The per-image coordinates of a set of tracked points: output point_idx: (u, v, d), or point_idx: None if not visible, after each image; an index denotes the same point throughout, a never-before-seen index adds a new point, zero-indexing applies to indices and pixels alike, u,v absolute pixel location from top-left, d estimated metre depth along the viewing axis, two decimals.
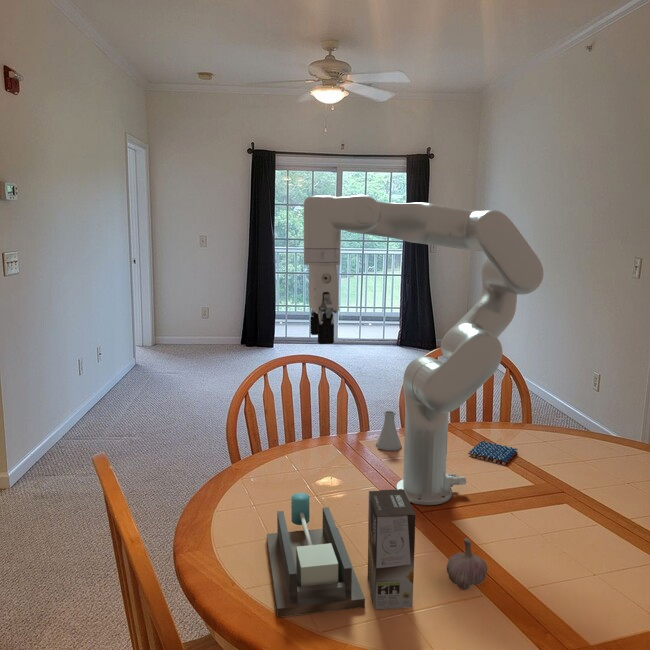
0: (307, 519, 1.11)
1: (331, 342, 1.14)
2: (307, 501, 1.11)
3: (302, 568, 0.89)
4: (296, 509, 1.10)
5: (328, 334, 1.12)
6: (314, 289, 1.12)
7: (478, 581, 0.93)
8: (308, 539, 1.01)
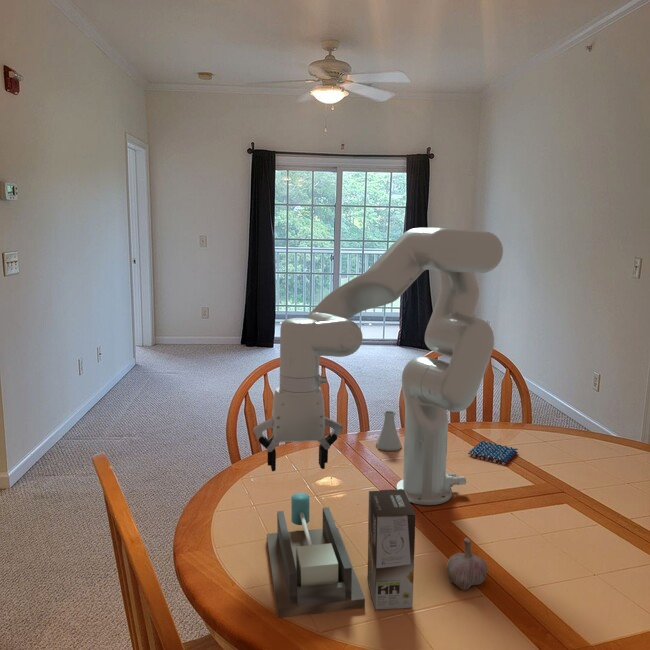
0: (307, 519, 1.11)
1: None
2: (307, 501, 1.11)
3: (302, 568, 0.89)
4: (296, 509, 1.10)
5: None
6: (320, 416, 1.07)
7: (478, 581, 0.93)
8: (308, 539, 1.01)
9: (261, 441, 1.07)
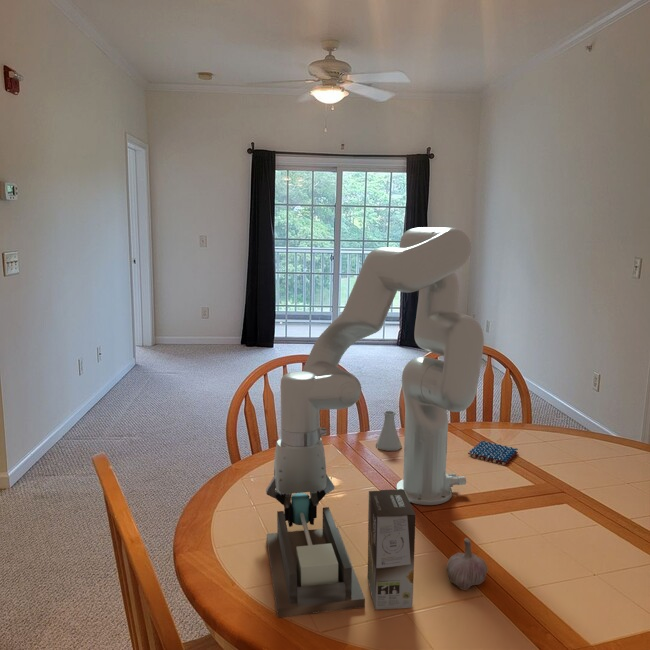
0: (307, 519, 1.11)
1: None
2: (307, 501, 1.11)
3: (302, 568, 0.89)
4: (296, 509, 1.10)
5: None
6: (321, 468, 1.09)
7: (478, 581, 0.93)
8: (308, 539, 1.01)
9: (278, 498, 1.10)
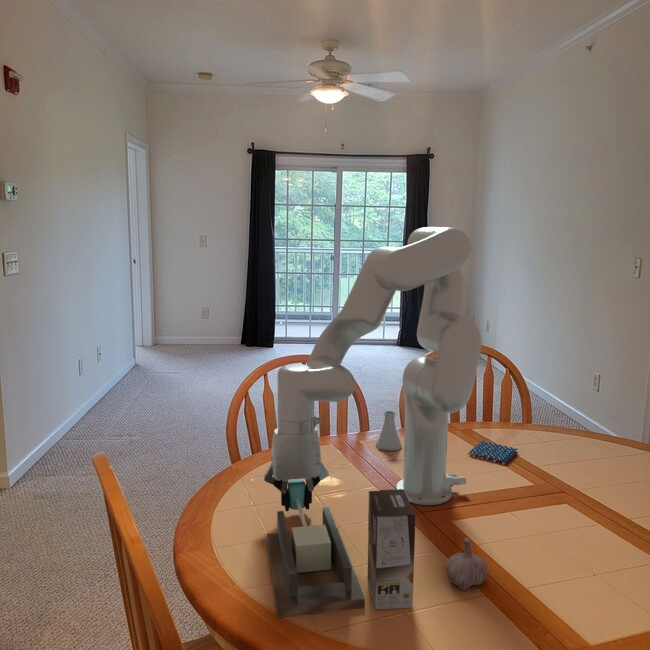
0: (303, 504, 1.17)
1: None
2: (303, 487, 1.17)
3: (297, 546, 0.95)
4: (292, 494, 1.16)
5: None
6: (316, 455, 1.15)
7: (478, 581, 0.93)
8: (303, 521, 1.07)
9: (275, 484, 1.16)
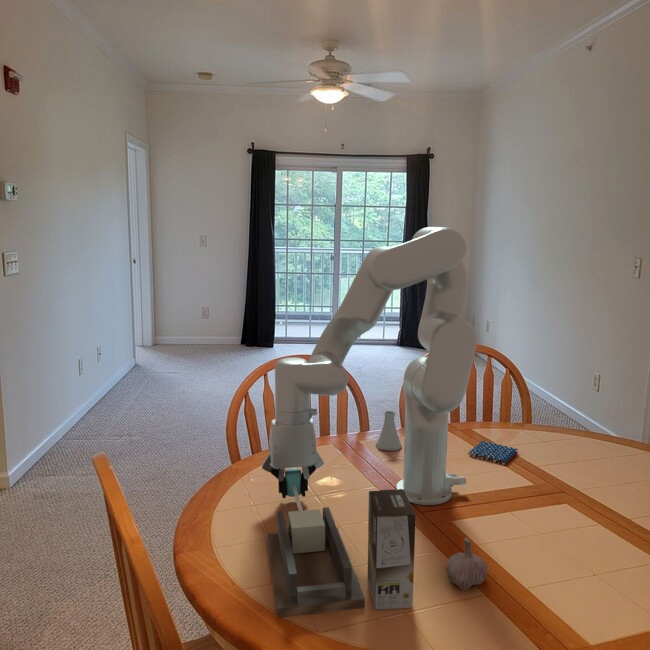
0: (299, 491, 1.23)
1: None
2: (299, 475, 1.22)
3: (293, 529, 1.01)
4: (289, 482, 1.22)
5: None
6: (311, 445, 1.21)
7: (478, 581, 0.93)
8: (299, 507, 1.12)
9: (273, 472, 1.22)
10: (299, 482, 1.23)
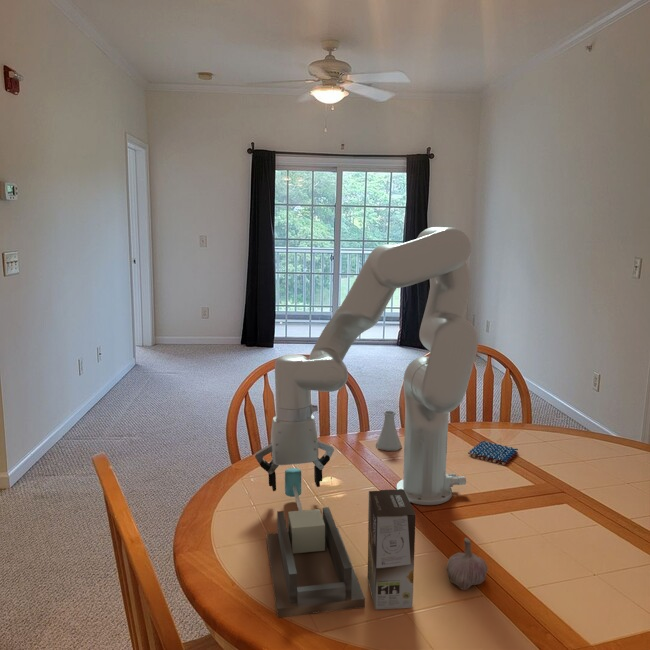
0: (299, 491, 1.23)
1: None
2: (299, 475, 1.22)
3: (293, 529, 1.01)
4: (289, 482, 1.22)
5: None
6: (313, 441, 1.21)
7: (478, 581, 0.93)
8: (299, 507, 1.12)
9: (262, 465, 1.21)
10: (299, 482, 1.23)
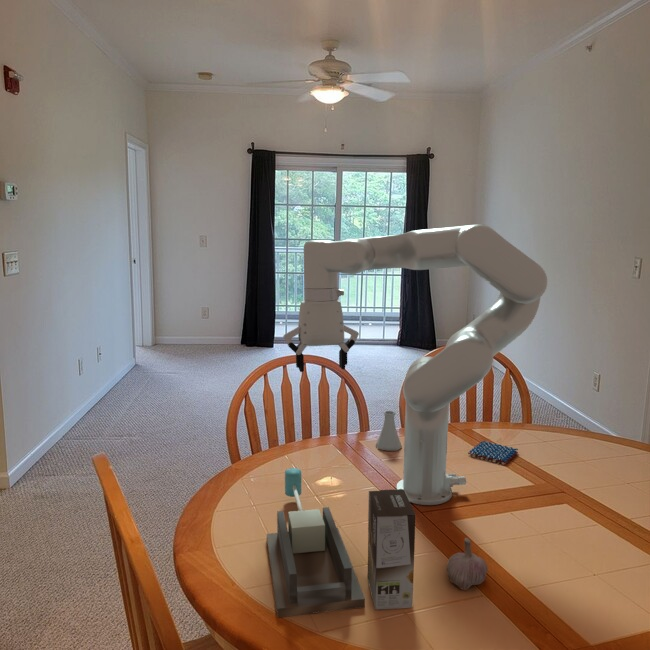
0: (299, 491, 1.23)
1: None
2: (299, 475, 1.22)
3: (293, 529, 1.01)
4: (289, 482, 1.22)
5: None
6: (339, 323, 1.26)
7: (478, 581, 0.93)
8: (299, 507, 1.12)
9: (291, 346, 1.26)
10: (299, 482, 1.23)
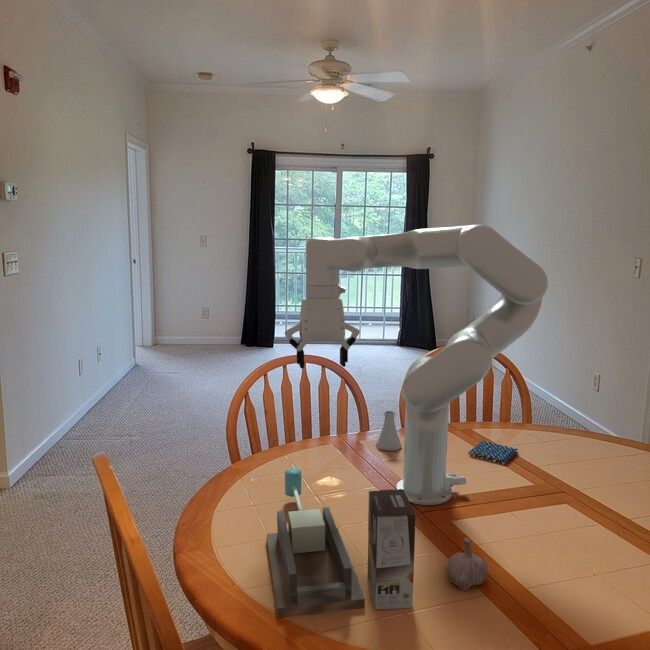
0: (299, 491, 1.23)
1: None
2: (299, 475, 1.22)
3: (293, 529, 1.01)
4: (289, 482, 1.22)
5: None
6: (340, 320, 1.27)
7: (478, 581, 0.93)
8: (299, 507, 1.12)
9: (291, 342, 1.27)
10: (299, 482, 1.23)
